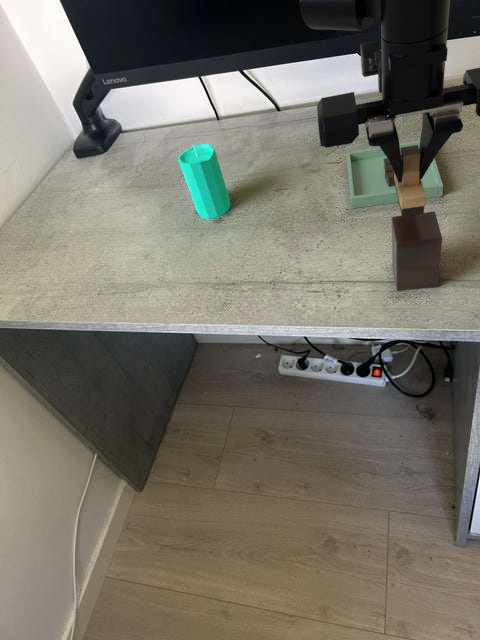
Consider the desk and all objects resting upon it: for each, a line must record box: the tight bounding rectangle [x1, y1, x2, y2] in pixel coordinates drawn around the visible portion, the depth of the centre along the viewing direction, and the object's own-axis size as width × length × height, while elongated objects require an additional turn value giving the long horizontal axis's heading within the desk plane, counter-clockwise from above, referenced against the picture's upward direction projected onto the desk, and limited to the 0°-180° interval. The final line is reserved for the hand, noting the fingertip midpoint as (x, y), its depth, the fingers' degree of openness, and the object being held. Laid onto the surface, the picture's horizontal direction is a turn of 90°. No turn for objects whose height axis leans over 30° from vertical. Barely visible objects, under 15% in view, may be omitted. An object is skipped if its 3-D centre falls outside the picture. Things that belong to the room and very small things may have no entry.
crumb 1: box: [384, 158, 390, 169], centre depth 78 cm, size 2×2×2 cm
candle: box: [177, 143, 232, 220], centre depth 80 cm, size 6×6×12 cm
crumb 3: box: [386, 171, 395, 187], centre depth 76 cm, size 2×2×2 cm
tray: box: [345, 140, 444, 210], centre depth 77 cm, size 13×13×2 cm
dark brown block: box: [391, 211, 443, 292], centre depth 60 cm, size 5×5×8 cm
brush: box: [394, 145, 427, 217], centre depth 55 cm, size 6×3×7 cm, turn 176°
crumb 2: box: [385, 164, 393, 179], centre depth 77 cm, size 2×2×2 cm
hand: (409, 178), depth 55 cm, fingers closed on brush, 2 cm apart
